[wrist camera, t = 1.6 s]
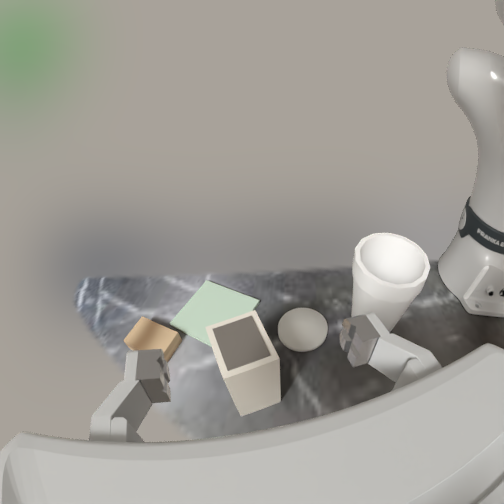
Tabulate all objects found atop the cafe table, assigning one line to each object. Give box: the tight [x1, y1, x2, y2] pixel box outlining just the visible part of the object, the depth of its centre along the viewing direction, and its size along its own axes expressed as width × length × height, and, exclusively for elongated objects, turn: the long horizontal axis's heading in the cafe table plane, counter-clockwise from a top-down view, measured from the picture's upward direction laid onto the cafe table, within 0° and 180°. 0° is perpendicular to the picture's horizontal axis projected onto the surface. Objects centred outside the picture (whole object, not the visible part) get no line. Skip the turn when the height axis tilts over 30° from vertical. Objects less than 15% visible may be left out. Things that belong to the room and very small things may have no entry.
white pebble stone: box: [278, 308, 328, 352], centre depth 40 cm, size 7×7×1 cm
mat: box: [170, 280, 260, 347], centre depth 43 cm, size 10×10×1 cm
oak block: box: [124, 316, 182, 362], centre depth 39 cm, size 7×5×2 cm
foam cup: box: [351, 233, 430, 333], centre depth 35 cm, size 10×9×13 cm
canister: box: [205, 310, 281, 416], centre depth 30 cm, size 6×5×12 cm
